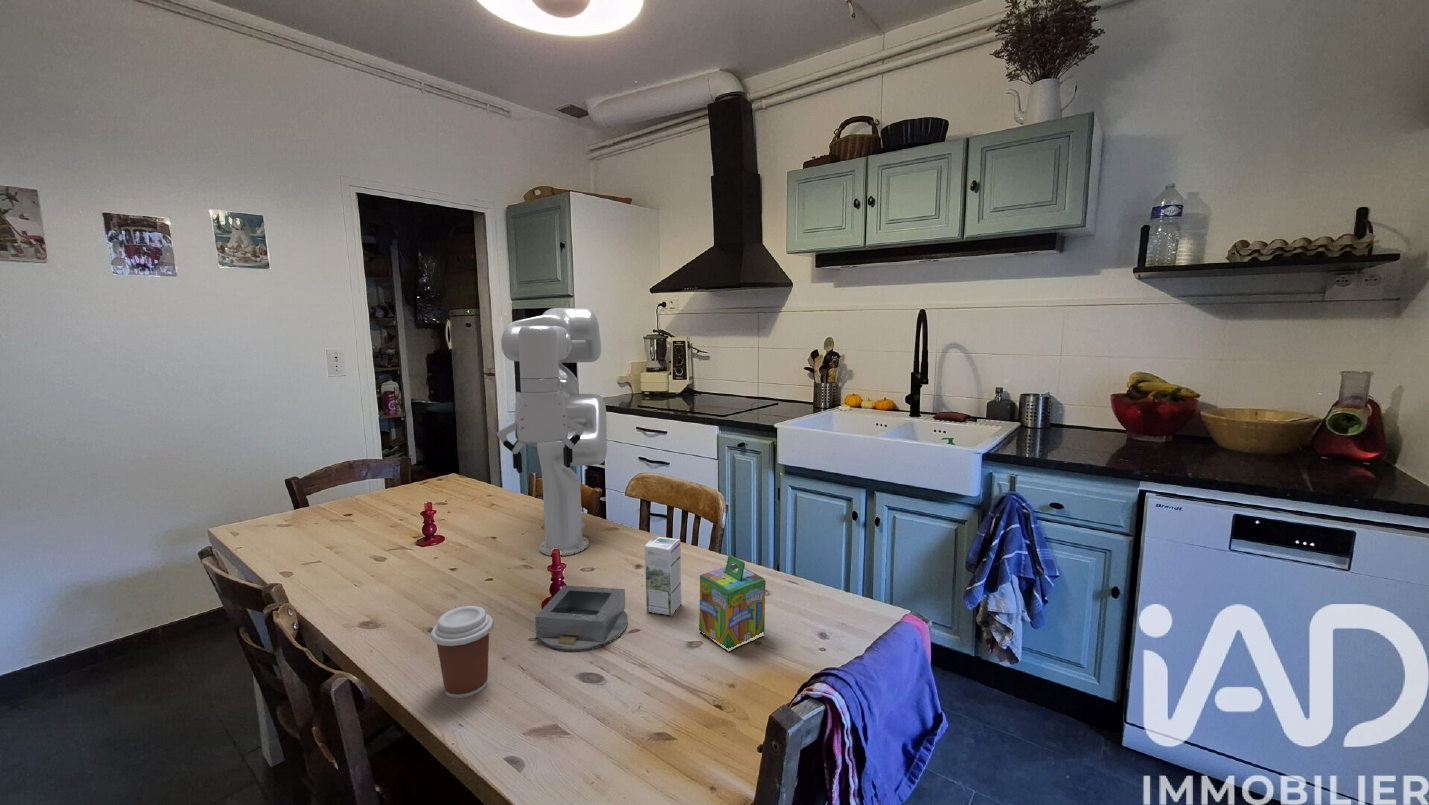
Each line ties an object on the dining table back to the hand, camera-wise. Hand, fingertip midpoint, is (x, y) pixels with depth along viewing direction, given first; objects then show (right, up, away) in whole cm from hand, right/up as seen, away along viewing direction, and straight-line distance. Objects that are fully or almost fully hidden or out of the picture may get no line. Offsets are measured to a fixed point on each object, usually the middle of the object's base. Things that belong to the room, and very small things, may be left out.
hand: (543, 469), depth 116 cm
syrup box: (+25, -29, 0) cm, 38 cm away
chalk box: (+39, -30, -10) cm, 50 cm away
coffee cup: (-5, -32, -25) cm, 41 cm away
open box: (+10, -30, -7) cm, 32 cm away
